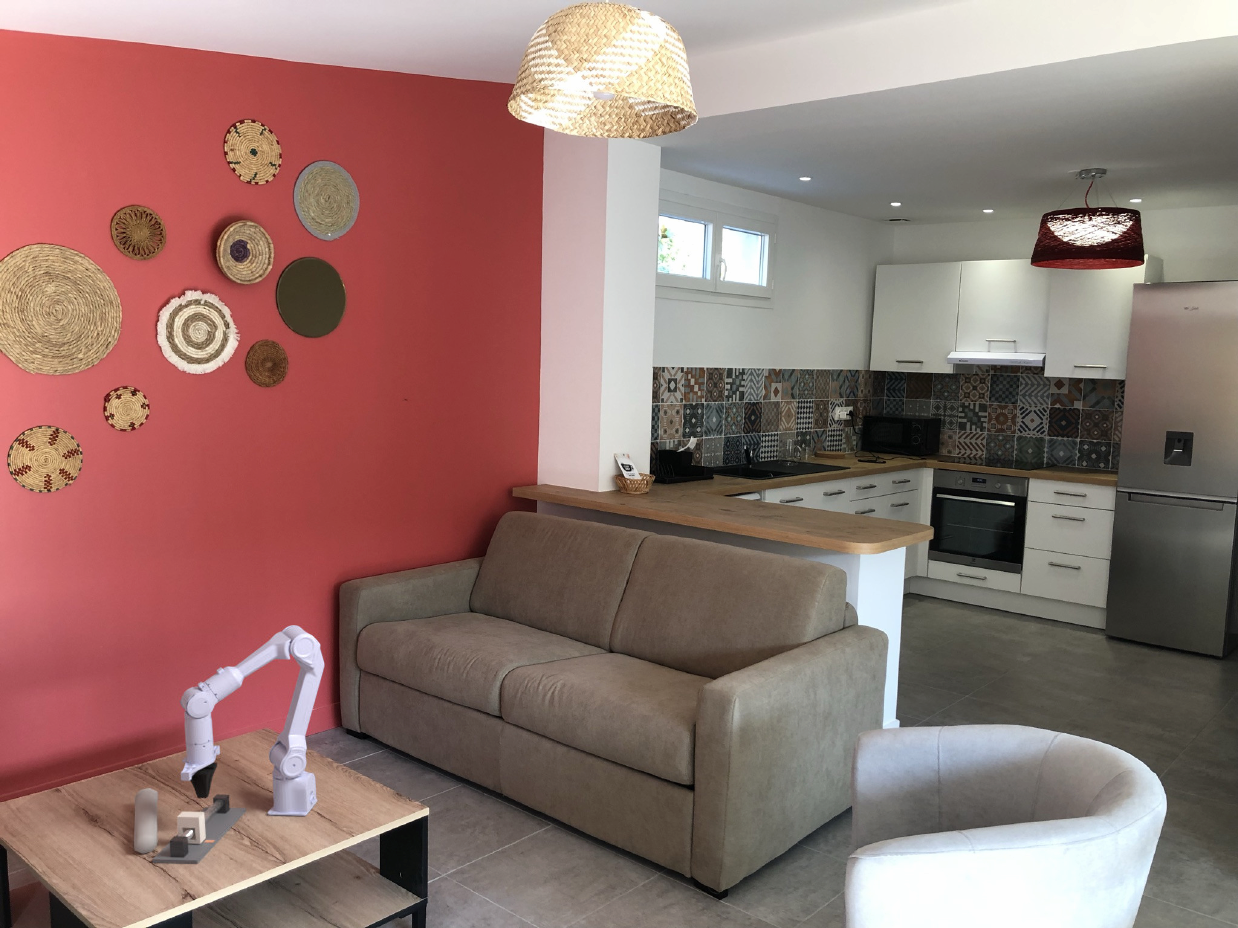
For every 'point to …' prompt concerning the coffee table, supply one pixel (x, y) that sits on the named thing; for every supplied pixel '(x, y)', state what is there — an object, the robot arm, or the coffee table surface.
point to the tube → (145, 820)
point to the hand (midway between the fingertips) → (203, 796)
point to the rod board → (216, 827)
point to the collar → (192, 825)
